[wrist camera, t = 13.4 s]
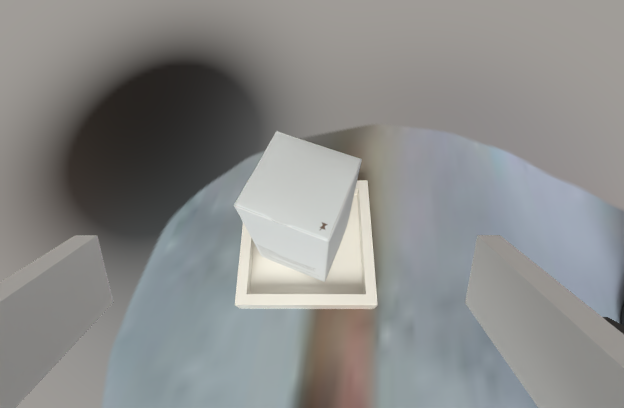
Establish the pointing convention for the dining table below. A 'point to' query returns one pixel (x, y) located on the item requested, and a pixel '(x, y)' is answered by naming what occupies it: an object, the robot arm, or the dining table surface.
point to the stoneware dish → (307, 290)
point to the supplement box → (299, 203)
